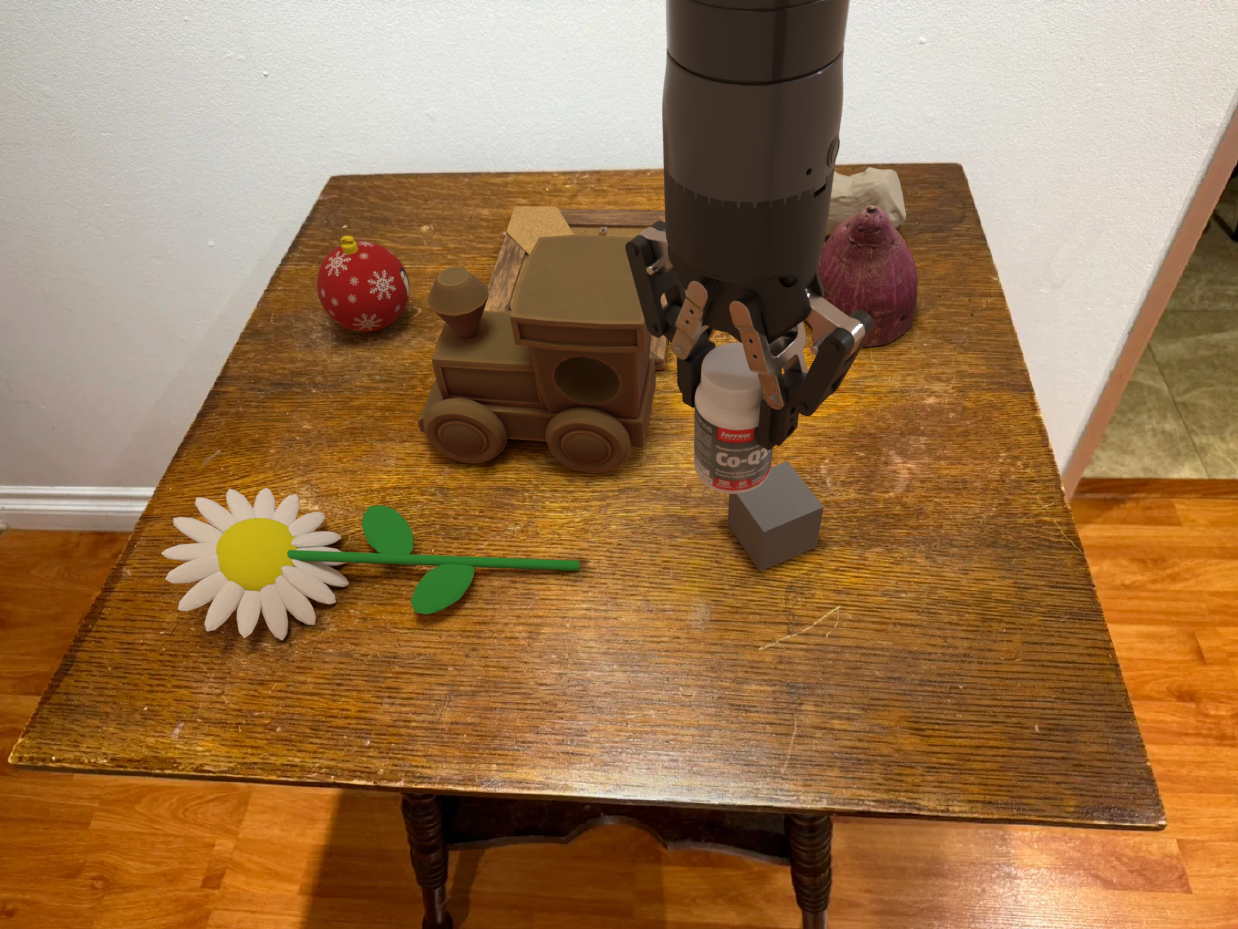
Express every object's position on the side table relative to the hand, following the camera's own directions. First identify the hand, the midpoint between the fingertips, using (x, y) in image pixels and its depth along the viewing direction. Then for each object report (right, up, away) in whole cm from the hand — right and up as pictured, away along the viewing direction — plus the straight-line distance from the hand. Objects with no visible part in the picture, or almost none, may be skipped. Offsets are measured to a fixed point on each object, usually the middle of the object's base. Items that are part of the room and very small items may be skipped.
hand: (735, 417), depth 52 cm
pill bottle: (0, -3, +3) cm, 5 cm away
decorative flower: (-24, -11, +17) cm, 32 cm away
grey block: (+5, -8, +17) cm, 19 cm away
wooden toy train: (-13, 0, +26) cm, 29 cm away
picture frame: (-10, +15, +39) cm, 43 cm away
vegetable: (+16, +12, +34) cm, 39 cm away
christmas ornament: (-31, +11, +38) cm, 50 cm away
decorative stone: (+18, +23, +44) cm, 52 cm away
